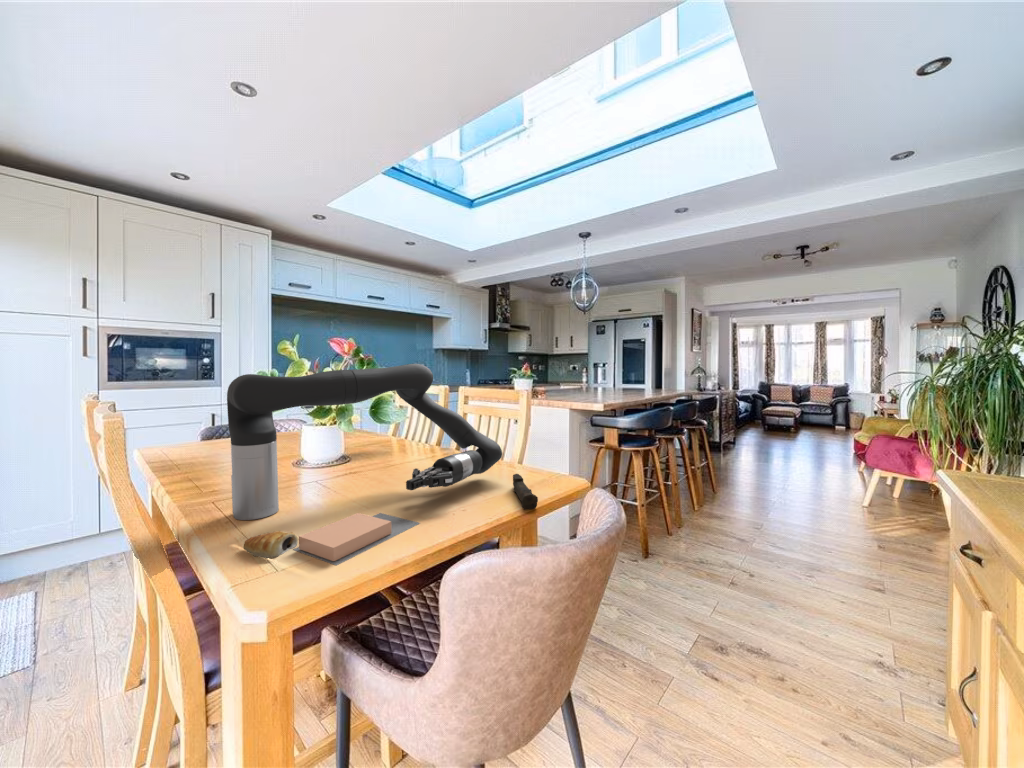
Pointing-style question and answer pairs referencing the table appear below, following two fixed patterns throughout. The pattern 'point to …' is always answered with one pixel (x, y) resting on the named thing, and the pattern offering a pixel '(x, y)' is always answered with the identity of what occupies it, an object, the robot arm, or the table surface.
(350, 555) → the mat
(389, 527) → the tile
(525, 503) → the hand tool
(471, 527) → the table surface
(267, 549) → the pastry
